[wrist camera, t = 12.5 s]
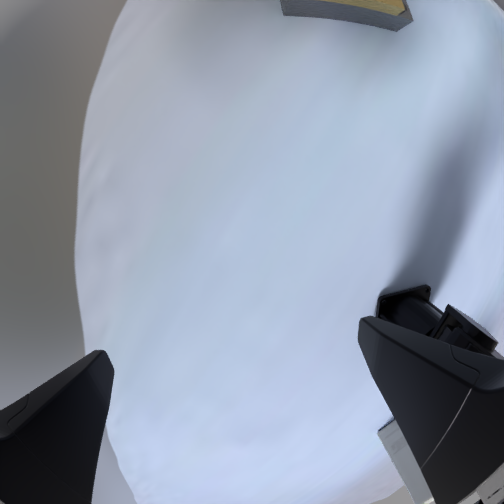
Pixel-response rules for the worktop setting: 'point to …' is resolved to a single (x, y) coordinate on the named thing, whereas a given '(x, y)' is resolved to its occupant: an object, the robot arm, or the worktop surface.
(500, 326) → the worktop surface
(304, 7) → the grey and tan tray
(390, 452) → the skincare box
